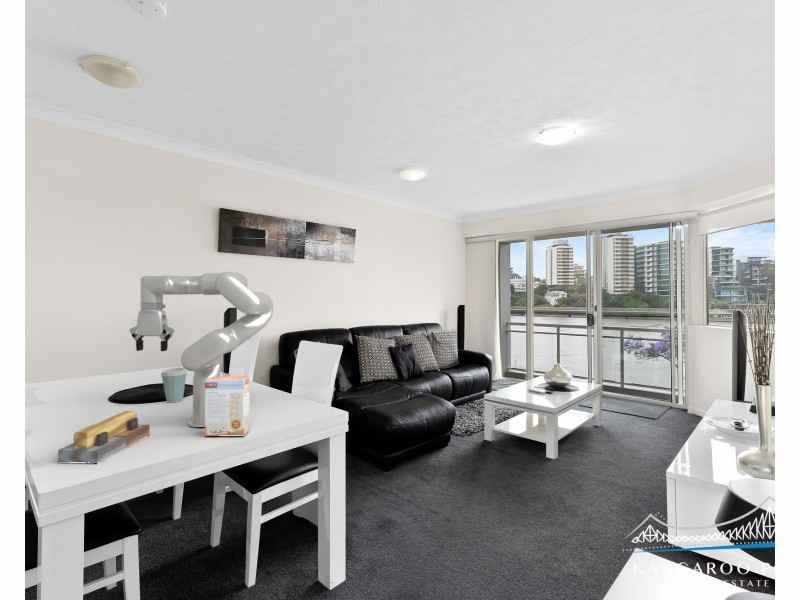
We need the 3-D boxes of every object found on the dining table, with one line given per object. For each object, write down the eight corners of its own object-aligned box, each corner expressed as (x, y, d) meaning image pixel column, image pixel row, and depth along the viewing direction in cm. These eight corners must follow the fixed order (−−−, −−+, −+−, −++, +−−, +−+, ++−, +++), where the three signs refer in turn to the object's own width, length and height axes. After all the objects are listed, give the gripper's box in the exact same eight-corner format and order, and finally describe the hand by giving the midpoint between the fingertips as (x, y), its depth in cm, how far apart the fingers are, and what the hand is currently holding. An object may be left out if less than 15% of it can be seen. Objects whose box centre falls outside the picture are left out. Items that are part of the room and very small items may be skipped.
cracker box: (249, 431, 150) (250, 375, 150) (244, 437, 144) (244, 379, 144) (211, 431, 150) (211, 375, 149) (204, 437, 144) (204, 379, 143)
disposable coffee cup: (178, 404, 185) (179, 371, 185) (155, 403, 185) (155, 371, 185) (191, 398, 196) (191, 367, 195) (169, 397, 196) (169, 367, 195)
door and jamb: (149, 435, 145) (149, 414, 145) (97, 464, 121) (97, 439, 121) (116, 434, 145) (116, 414, 145) (58, 463, 121) (58, 438, 121)
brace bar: (136, 425, 144) (136, 411, 144) (87, 448, 122) (87, 432, 122) (125, 424, 144) (125, 410, 144) (74, 448, 122) (74, 432, 122)
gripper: (178, 307, 163) (178, 349, 163) (136, 306, 163) (136, 348, 164) (167, 307, 155) (167, 352, 156) (123, 307, 156) (123, 351, 156)
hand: (151, 350), depth 160 cm, fingers open, 9 cm apart
